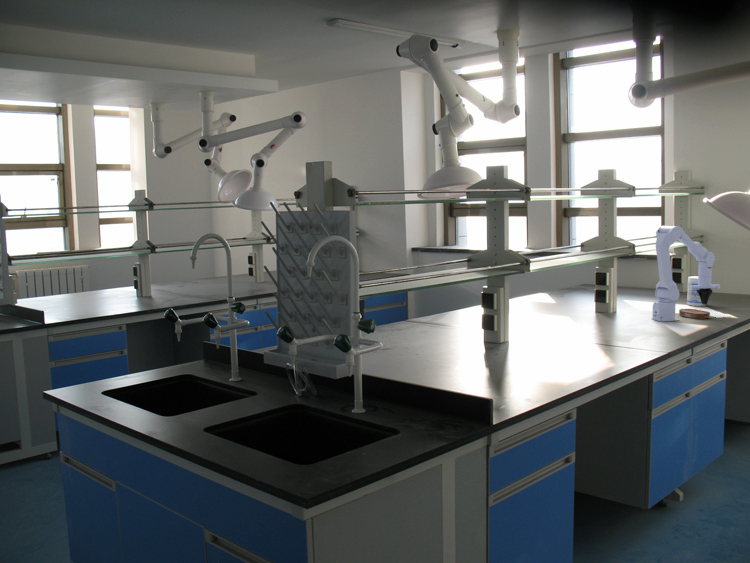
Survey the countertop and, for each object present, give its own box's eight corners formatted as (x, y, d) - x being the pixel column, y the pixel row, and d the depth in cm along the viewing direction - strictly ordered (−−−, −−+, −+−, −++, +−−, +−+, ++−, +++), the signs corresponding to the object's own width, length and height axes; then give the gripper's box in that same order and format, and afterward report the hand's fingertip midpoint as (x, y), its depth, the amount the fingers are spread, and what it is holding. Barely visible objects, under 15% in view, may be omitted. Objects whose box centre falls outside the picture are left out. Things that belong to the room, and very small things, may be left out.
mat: (716, 317, 316) (716, 317, 316) (697, 312, 331) (697, 312, 331) (730, 317, 317) (730, 316, 317) (711, 311, 331) (711, 311, 331)
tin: (714, 312, 315) (700, 313, 312) (713, 319, 316) (700, 319, 312) (688, 308, 329) (675, 308, 326) (687, 314, 329) (674, 315, 326)
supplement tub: (691, 306, 348) (692, 278, 346) (683, 303, 357) (684, 276, 355) (710, 306, 347) (711, 277, 345) (702, 303, 357) (703, 275, 355)
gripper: (695, 277, 316) (695, 306, 318) (724, 276, 317) (723, 304, 319) (686, 276, 323) (686, 304, 325) (715, 274, 324) (714, 302, 326)
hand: (704, 304), depth 322 cm, fingers closed
